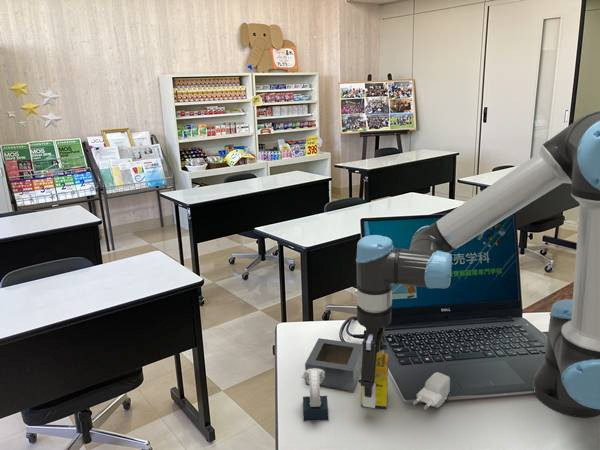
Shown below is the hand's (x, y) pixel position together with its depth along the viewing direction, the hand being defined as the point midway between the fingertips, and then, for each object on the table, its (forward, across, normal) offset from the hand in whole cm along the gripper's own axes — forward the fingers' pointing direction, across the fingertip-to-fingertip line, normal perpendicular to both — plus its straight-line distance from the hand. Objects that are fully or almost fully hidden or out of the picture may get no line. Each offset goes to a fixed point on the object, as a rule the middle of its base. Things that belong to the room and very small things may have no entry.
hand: (373, 389), depth 110 cm
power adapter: (+3, -1, +13) cm, 13 cm away
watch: (+3, +8, -12) cm, 15 cm away
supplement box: (+3, 0, 0) cm, 3 cm away
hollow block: (+3, -7, -11) cm, 13 cm away
